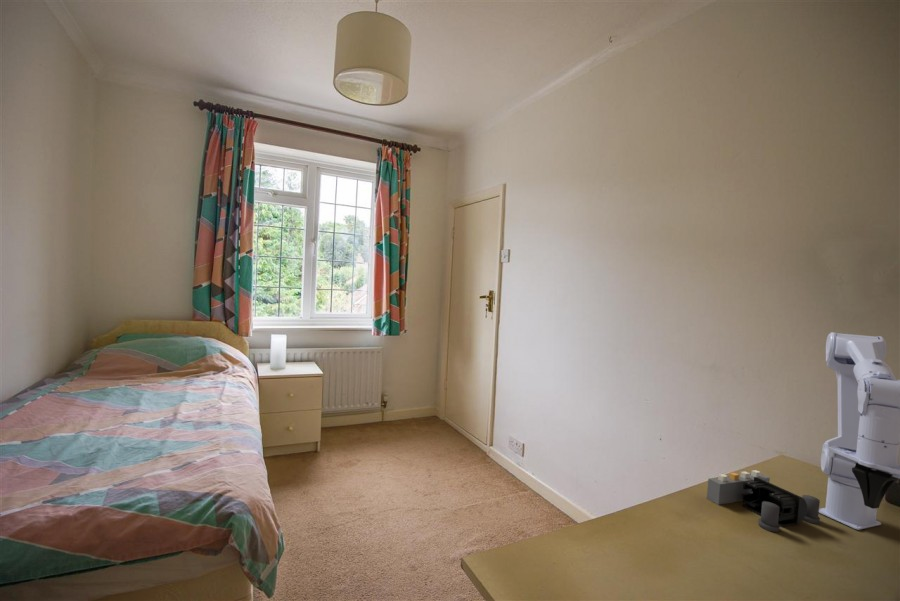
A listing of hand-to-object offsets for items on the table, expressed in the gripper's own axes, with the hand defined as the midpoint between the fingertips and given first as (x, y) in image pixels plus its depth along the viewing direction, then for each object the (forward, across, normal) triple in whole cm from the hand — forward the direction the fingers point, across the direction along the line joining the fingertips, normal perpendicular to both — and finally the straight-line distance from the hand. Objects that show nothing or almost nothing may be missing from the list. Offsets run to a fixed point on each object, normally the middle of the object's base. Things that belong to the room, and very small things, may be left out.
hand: (871, 506), depth 81 cm
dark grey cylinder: (+10, -12, +4) cm, 16 cm away
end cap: (+10, -16, -3) cm, 19 cm away
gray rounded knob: (+10, -12, -10) cm, 18 cm away
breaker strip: (+10, -24, -3) cm, 26 cm away
